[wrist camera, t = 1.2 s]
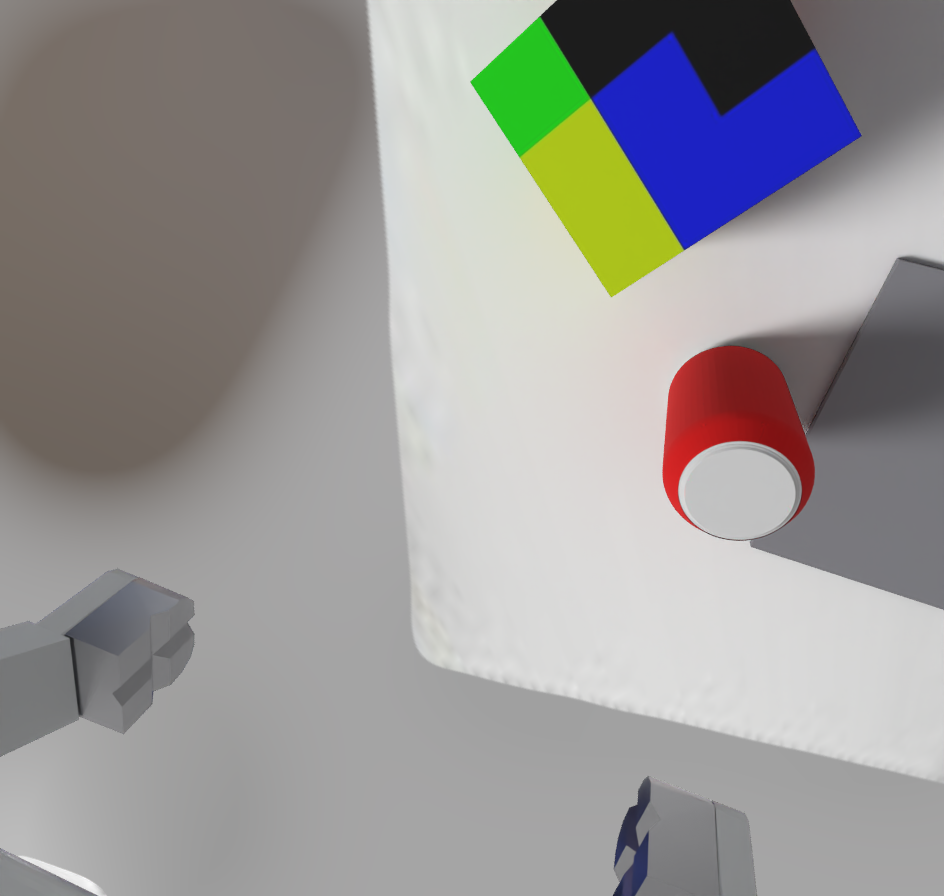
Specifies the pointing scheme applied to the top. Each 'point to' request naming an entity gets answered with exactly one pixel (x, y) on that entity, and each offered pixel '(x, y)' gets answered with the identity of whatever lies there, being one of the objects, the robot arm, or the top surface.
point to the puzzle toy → (662, 119)
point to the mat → (881, 450)
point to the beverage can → (735, 446)
